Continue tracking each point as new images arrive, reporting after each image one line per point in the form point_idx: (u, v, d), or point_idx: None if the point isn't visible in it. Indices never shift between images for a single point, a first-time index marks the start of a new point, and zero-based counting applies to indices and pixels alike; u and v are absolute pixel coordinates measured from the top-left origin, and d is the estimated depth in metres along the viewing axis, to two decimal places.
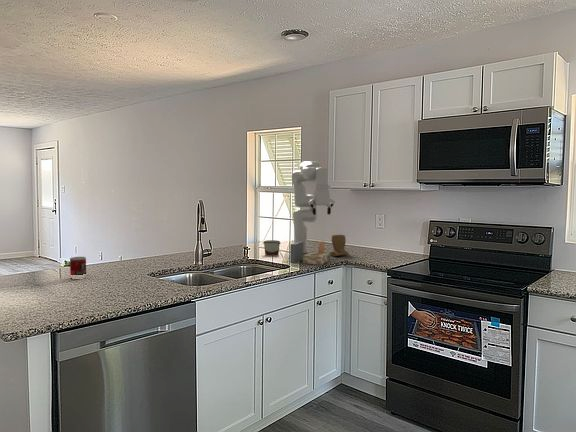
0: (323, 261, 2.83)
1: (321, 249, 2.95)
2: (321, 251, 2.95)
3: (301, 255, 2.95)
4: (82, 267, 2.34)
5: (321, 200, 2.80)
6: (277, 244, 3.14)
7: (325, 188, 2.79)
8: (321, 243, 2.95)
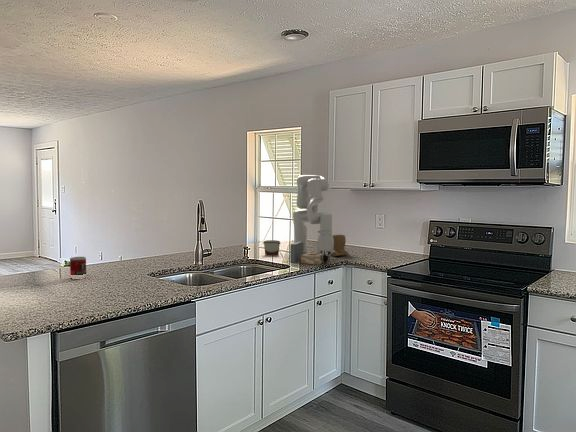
0: (321, 261, 2.84)
1: None
2: None
3: None
4: (82, 267, 2.34)
5: None
6: (277, 244, 3.14)
7: None
8: None
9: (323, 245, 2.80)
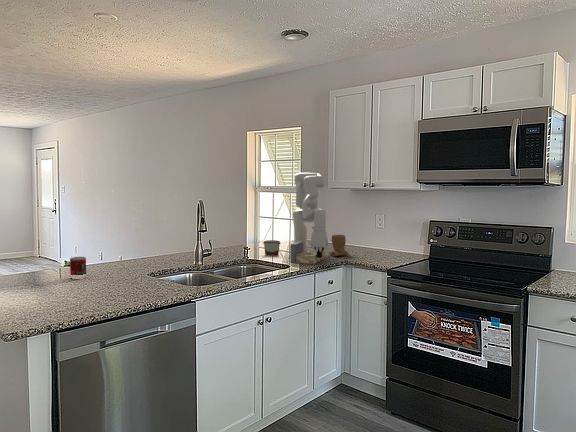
0: (315, 260, 2.85)
1: None
2: None
3: None
4: (82, 267, 2.34)
5: None
6: (277, 244, 3.14)
7: None
8: None
9: (317, 241, 2.82)
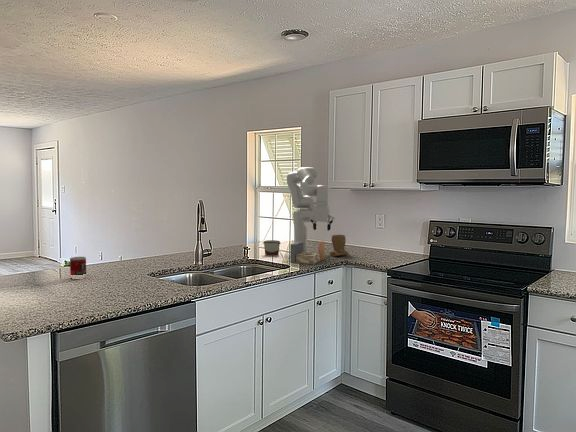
0: (316, 260, 2.85)
1: (321, 249, 2.95)
2: (321, 251, 2.95)
3: None
4: (82, 267, 2.34)
5: None
6: (277, 244, 3.14)
7: None
8: (321, 243, 2.95)
9: (319, 215, 2.93)
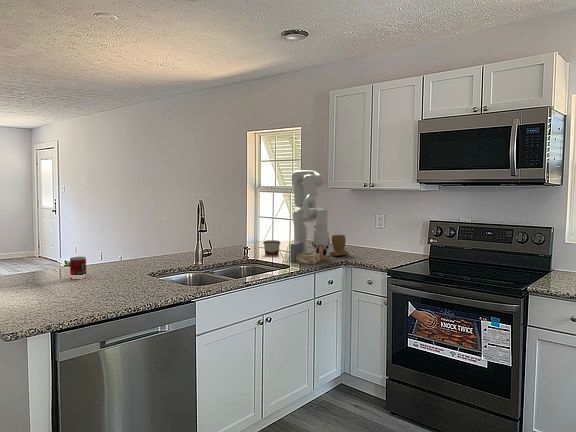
0: (316, 260, 2.85)
1: (321, 249, 2.95)
2: (321, 251, 2.95)
3: None
4: (82, 267, 2.34)
5: None
6: (277, 244, 3.14)
7: None
8: None
9: (319, 239, 2.94)
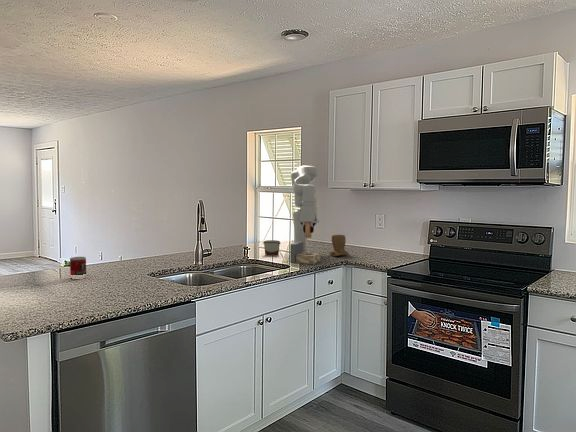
0: (316, 260, 2.85)
1: (308, 226, 2.85)
2: (308, 228, 2.85)
3: None
4: (82, 267, 2.34)
5: None
6: (277, 244, 3.14)
7: None
8: None
9: (306, 216, 2.84)
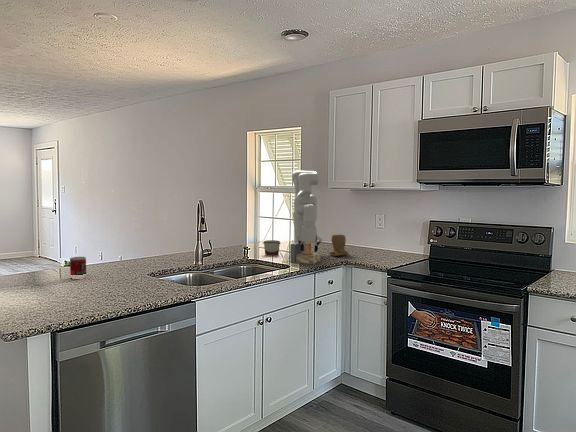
0: (316, 260, 2.85)
1: (308, 251, 2.86)
2: (308, 253, 2.86)
3: None
4: (82, 267, 2.34)
5: None
6: (277, 244, 3.14)
7: None
8: (307, 245, 2.86)
9: (306, 236, 2.85)
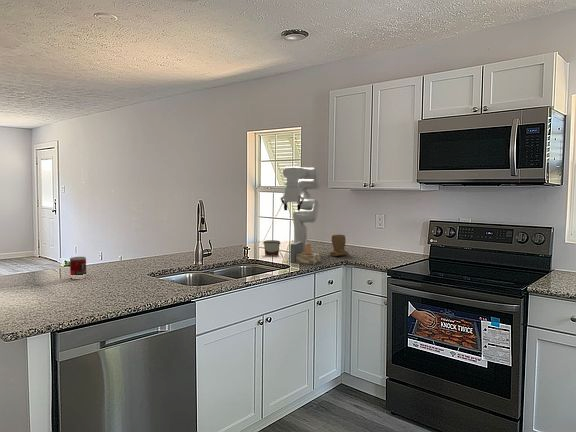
0: (316, 260, 2.85)
1: (308, 251, 2.86)
2: (308, 253, 2.86)
3: None
4: (82, 267, 2.34)
5: None
6: (277, 244, 3.14)
7: None
8: (307, 245, 2.86)
9: (289, 196, 3.00)
